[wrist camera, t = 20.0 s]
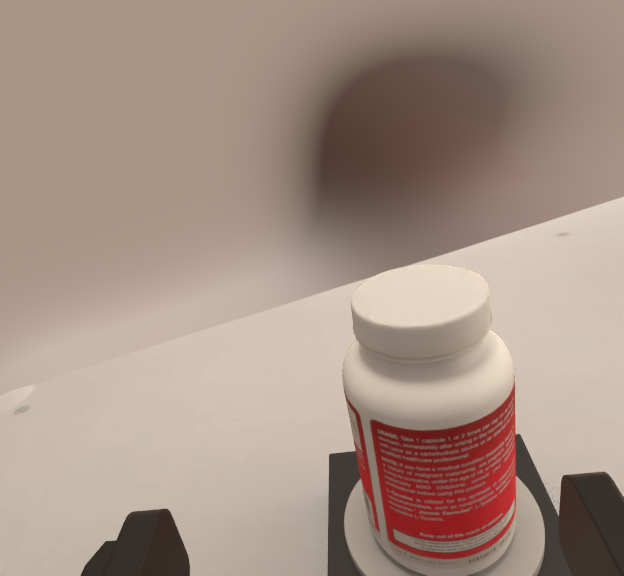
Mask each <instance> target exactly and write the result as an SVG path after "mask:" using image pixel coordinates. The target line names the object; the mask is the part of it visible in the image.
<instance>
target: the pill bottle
mask: <svg viewBox="0 0 624 576" xmlns="http://www.w3.org/2000/svg"><path fill="white" fill-rule="evenodd" d="M351 309H352V317H353V330H354V334H355V335H356V338H357V340H356V341H355V342H354V343H353V344H352V346H351V347H350V349H349V351H348V353H347V355H346V357H345V360H344V364H343V374H342V376H343V386H344V393H345V397H346V402H347V407H348V412H349V417H350V423H351V428H352V433H353V438H354V444H355V449H356V455H357V460H358V466H359V471H360V476H361V482H362V487H363V494H364V498H365V505H366V510H367V514H368V518H369V522H370V526H371V529H372V532H373V534H374V536H375V538H376V539H377V541H378V543H379V544H380V545H381V547H382V548H383V549H384V550H385V551H386V553H388V554H389V555H390V556H391V557H392V558H393V559H394V560H396V561H397V562H398V563H400V564H401V565H403V566H405V567H407V568H409V569H411V570H413V571H415V572H418V573H421V574H424V575H427V576H466V575H470V574H474V573H476V572H479V571H481V570H483V569H485V568H487V567H488V566H490V565H491V564H493V563H494V562H495V561H497V560H498V559H499V558H500V557H501V556H502V555H503V553H504V552H505V551H506V549H507V548H508V546H509V544H510V542H511V540H512V538H513V535H514V531H515V525H516V447H515V380H514V379H515V376H514V367H513V361H512V358H511V355H510V353H509V350H508V349H507V347H506V345H505V344H504V343H503V341H502V340H501V339H500V338H499V337H498V336H497V335H496V334H495V333H494V332H493V331H491V330H490V329H489V327H490V324H491V320H492V313H491V304H490V292H489V287H488V285H487V283H486V281H485V280H484V279H483V278H482V277H481V276H480V275H478V274H476V273H475V272H472V271H470V270H468V269H464V268H460V267H455V266H449V265H413V266H407V267H402V268H397V269H393V270H389V271H386V272H383V273H380V274H378V275H375V276H373V277H371V278H369V279H368V280H366V281H364V282H363V283H362V284H360V285H359V286H358V287H357V288H356V290H355V291H354V293H353V295H352V297H351Z"/></svg>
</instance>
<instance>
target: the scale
mask: <svg viewBox="0 0 624 576" xmlns="http://www.w3.org/2000/svg"><path fill="white" fill-rule="evenodd" d="M515 447H516V525H515V531H514V535H513V538H512V540H511V542H510V544H509V546H508V548H507V549H506V551H505V552H504V553H503V555H502V556H501V557H500V558H499V559H498V560H497V561H495V562H494V563H493V564H491V565H490V566H488V567H487V568H485V569H483V570H481V571H479V572H476V573H474V574H470V575H466V576H572V574H571V572H570V569H569V567H568V565H567V562H566V560H565V557H564V554H563V551H562V547H561V543H560V538H559V529H558V526H559V516H558V514H557V512H556V510H555V508H554V506H553V504H552V501H551V499H550V497H549V495H548V493H547V491H546V489H545V486H544V484H543V482H542V480H541V478H540V476H539V474H538V471H537V469H536V467H535V465H534V463H533V461H532V459H531V457H530V454H529V452H528V450H527V448H526V446H525V444H524V442H523V439H522V437H521V435H520V434H517V435H515ZM328 576H427V575H424V574H421V573H418V572H415V571H413V570H411V569H409V568H407V567H405V566H403V565H401V564H400V563H398V562H397V561H396V560H394V559H393V558H392V557H391V556H390V555H389V554H388V553H386V551H385V550H384V549H383V548H382V547H381V545H380V544H379V543H378V541H377V539H376V538H375V536H374V534H373V532H372V529H371V526H370V522H369V518H368V514H367V510H366V505H365V498H364V494H363V487H362V482H361V476H360V471H359V466H358V460H357V455H356V451H353V452H344V453H334V454H330V455H329V516H328Z"/></svg>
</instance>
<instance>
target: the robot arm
mask: <svg viewBox="0 0 624 576" xmlns="http://www.w3.org/2000/svg"><path fill="white" fill-rule="evenodd" d="M558 529H559V538H560V543H561V547H562V551H563V554H564V557H565V560H566V562H567V565H568V567H569V569H570V572H571V574H572V576H624V497H623V496H622V494H621V492H620V491H619V489H618V488H617V486H616V484H615V483H614V481H613V480H612V478H611V477H610V476H609V475H608V474H607V473H605V472H595V473H583V474H572V475H564V476H563V477H562V481H561V495H560V510H559V526H558ZM81 576H190V565H189V558H188V554H187V552H186V549H185V547H184V544H183V542H182V539H181V537H180V534H179V532H178V529H177V527H176V524H175V522H174V519H173V517H172V515H171V513H170V511H169V510H168V509H159V510H147V511H136V512H131V513H130V514H129V515H128V516H127V518H126V520H125V522H124V524H123V526H122V529H121V531H120V533H119V536H118V538H117V540H116V541H106V542H105V543H104V544H103V545H102V546H101V548H100V549H99V550H98V551H97V552H96V553H95V555H94V556H93V557H92V558H91V559H90V561H89V562H88V563H87V564H86V565H85V567H84V569H83V572H82V574H81Z"/></svg>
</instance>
